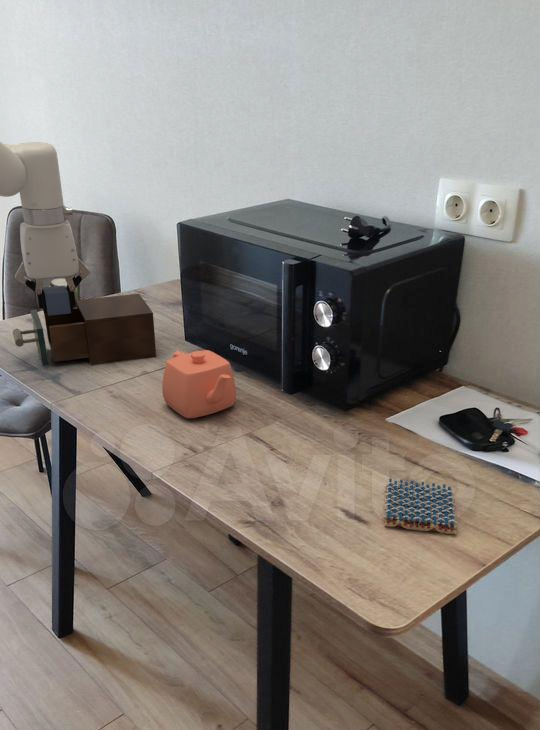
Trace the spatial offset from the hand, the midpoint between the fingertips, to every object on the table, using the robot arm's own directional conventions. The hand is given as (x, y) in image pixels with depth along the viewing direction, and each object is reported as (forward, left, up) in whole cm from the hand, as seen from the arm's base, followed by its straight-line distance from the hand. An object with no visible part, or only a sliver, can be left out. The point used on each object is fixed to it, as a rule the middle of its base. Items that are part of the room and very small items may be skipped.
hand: (57, 309), depth 141 cm
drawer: (-1, 0, -9) cm, 9 cm away
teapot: (+20, -32, -10) cm, 39 cm away
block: (0, 0, 0) cm, 0 cm away
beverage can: (+2, +13, -10) cm, 17 cm away
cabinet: (+11, 0, -10) cm, 15 cm away
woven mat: (+40, -74, -10) cm, 85 cm away
